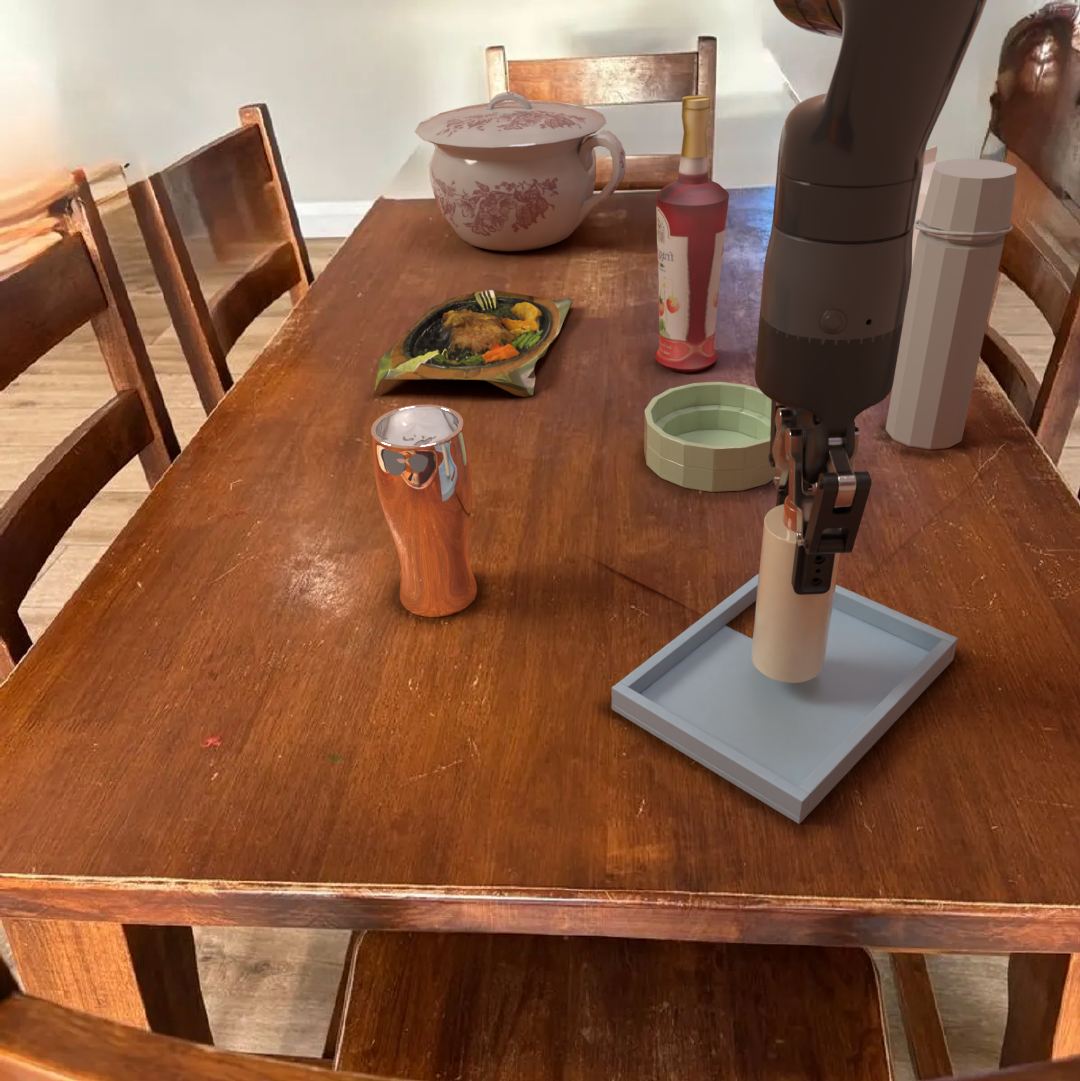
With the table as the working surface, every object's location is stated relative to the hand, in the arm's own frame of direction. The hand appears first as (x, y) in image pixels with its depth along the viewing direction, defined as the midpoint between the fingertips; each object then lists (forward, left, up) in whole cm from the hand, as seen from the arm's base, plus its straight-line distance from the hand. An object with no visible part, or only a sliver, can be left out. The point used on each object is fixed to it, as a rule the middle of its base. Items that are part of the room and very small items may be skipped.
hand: (799, 563), depth 64 cm
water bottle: (-39, -10, -10) cm, 42 cm away
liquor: (-37, -37, -10) cm, 53 cm away
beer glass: (+9, -26, -10) cm, 29 cm away
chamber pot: (-58, -85, -10) cm, 103 cm away
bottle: (0, 0, -8) cm, 8 cm away
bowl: (-22, -22, -10) cm, 33 cm away
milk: (-53, -21, -10) cm, 58 cm away
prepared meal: (-26, -59, -10) cm, 65 cm away
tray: (0, 0, -10) cm, 10 cm away
